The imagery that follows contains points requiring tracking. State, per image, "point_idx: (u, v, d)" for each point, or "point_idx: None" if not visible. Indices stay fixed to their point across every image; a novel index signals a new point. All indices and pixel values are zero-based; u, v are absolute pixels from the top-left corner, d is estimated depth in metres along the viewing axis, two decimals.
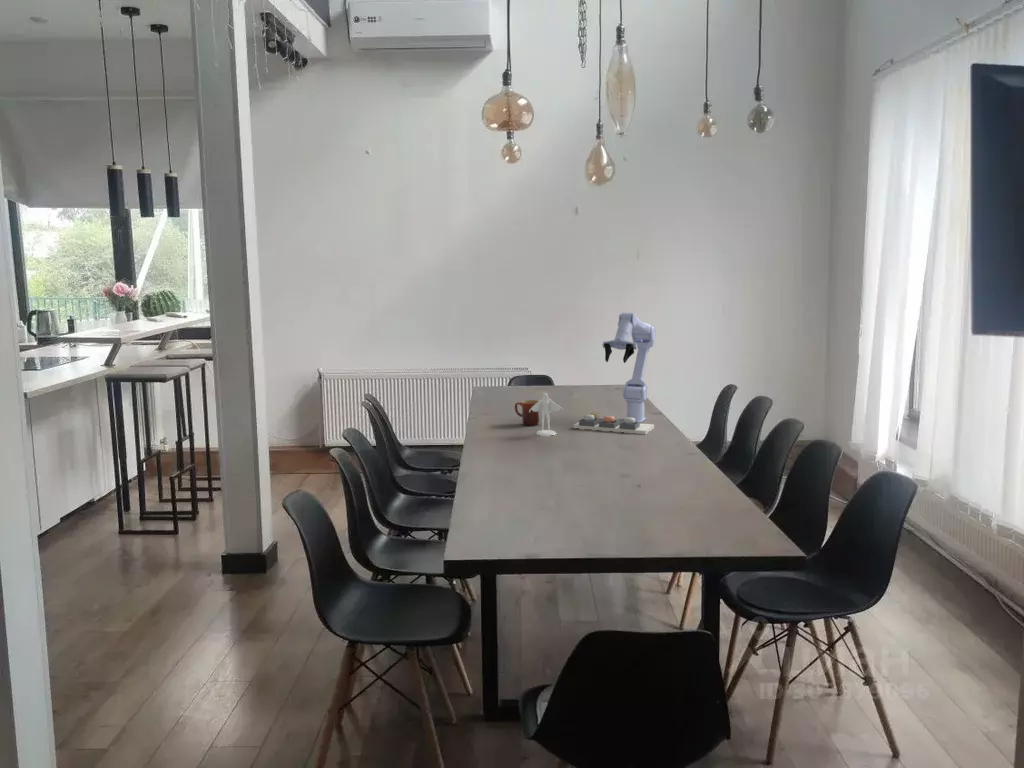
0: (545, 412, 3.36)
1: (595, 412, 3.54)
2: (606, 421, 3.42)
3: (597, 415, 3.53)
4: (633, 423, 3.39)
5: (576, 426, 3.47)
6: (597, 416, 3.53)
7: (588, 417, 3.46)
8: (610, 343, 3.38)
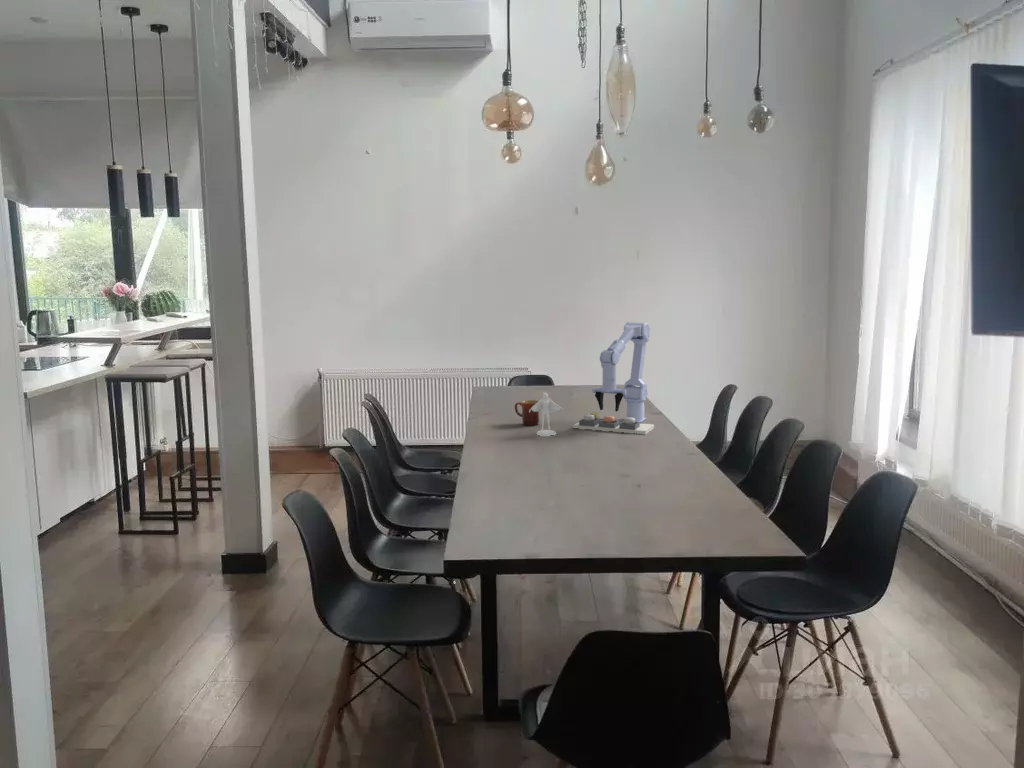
0: (545, 412, 3.36)
1: (595, 412, 3.54)
2: (606, 421, 3.42)
3: (597, 415, 3.53)
4: (633, 423, 3.39)
5: (576, 426, 3.47)
6: (597, 416, 3.53)
7: (588, 417, 3.46)
8: (599, 390, 3.43)
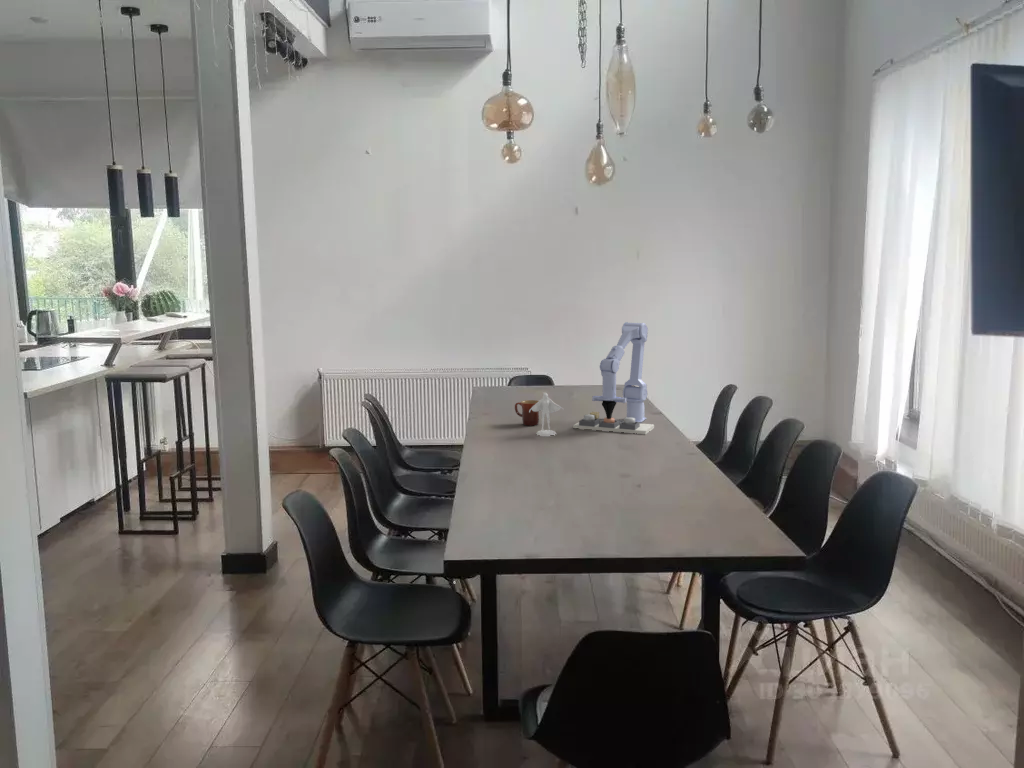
0: (545, 412, 3.36)
1: (595, 412, 3.54)
2: (606, 422, 3.43)
3: (597, 415, 3.53)
4: (633, 423, 3.39)
5: (576, 426, 3.47)
6: (597, 416, 3.53)
7: (588, 417, 3.46)
8: (599, 398, 3.44)
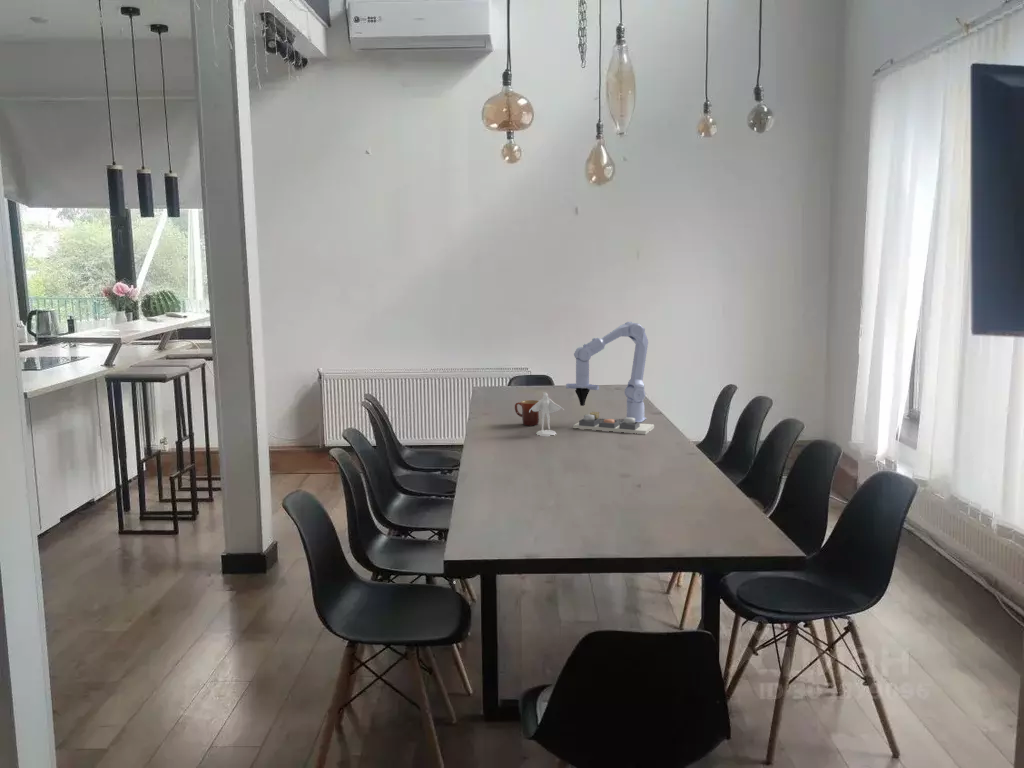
0: (545, 412, 3.36)
1: (595, 412, 3.54)
2: None
3: (597, 415, 3.53)
4: (633, 423, 3.39)
5: (576, 426, 3.47)
6: (597, 416, 3.53)
7: (588, 417, 3.46)
8: None
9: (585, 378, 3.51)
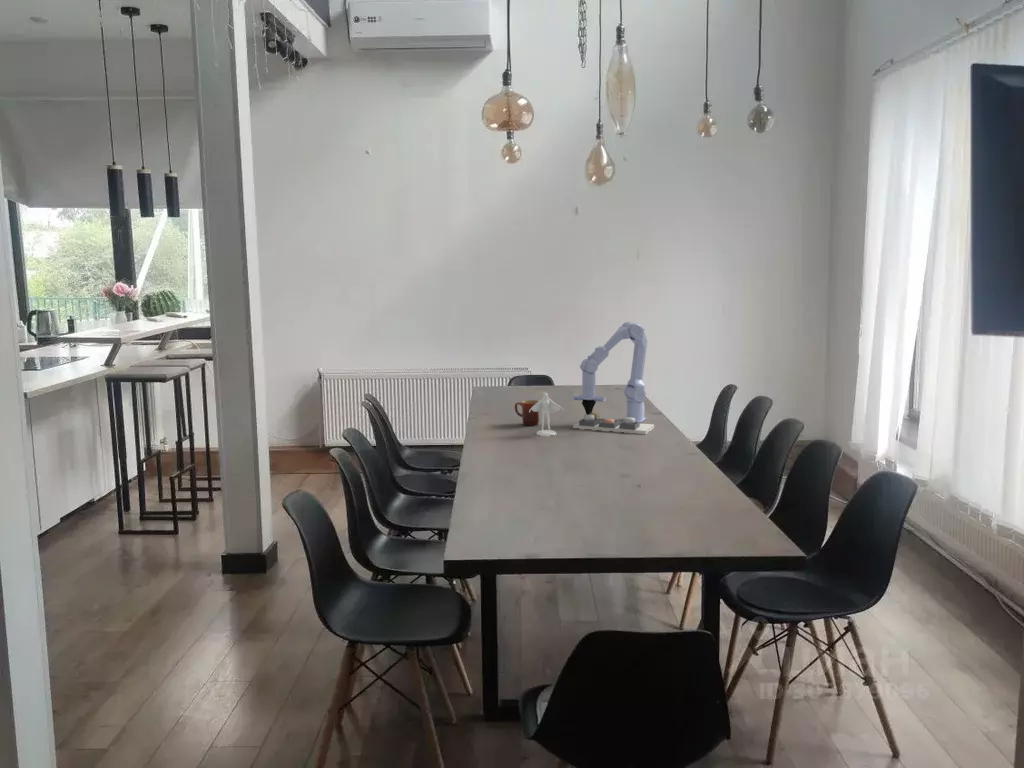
0: (545, 412, 3.36)
1: (595, 412, 3.54)
2: None
3: (597, 415, 3.53)
4: (633, 423, 3.39)
5: (576, 426, 3.47)
6: (597, 416, 3.53)
7: (588, 417, 3.46)
8: (579, 398, 3.55)
9: (591, 390, 3.51)
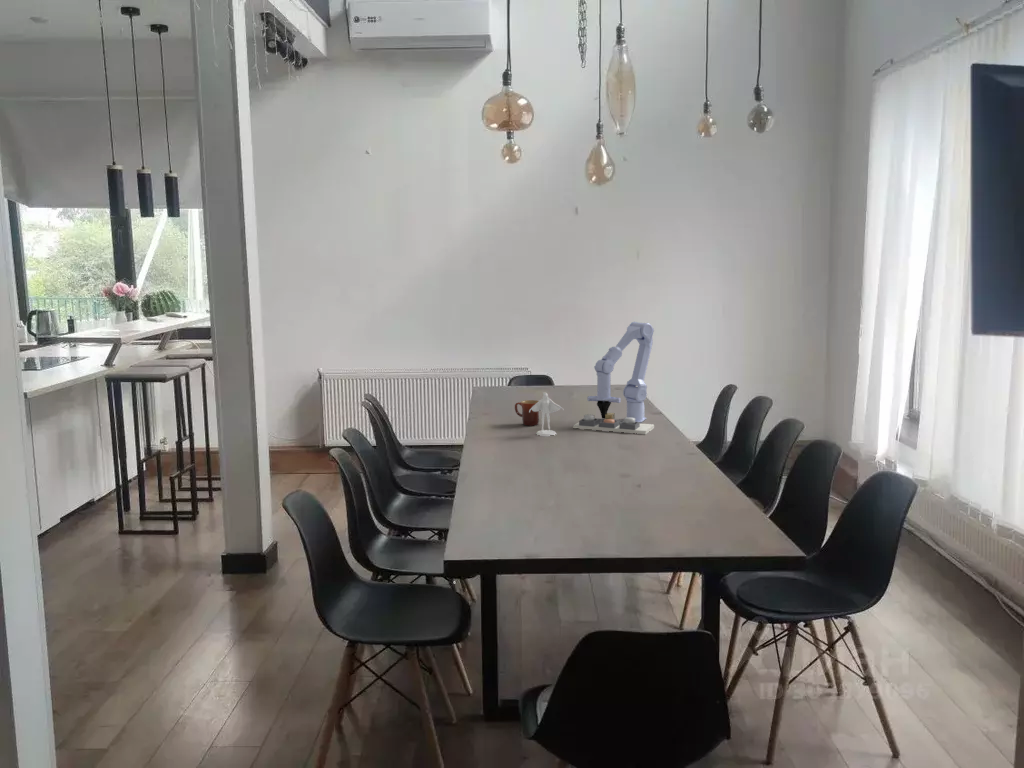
0: (545, 412, 3.36)
1: (610, 413, 3.51)
2: None
3: (612, 416, 3.50)
4: (633, 423, 3.39)
5: (576, 426, 3.47)
6: (612, 417, 3.50)
7: (588, 417, 3.46)
8: (594, 399, 3.52)
9: (607, 391, 3.48)
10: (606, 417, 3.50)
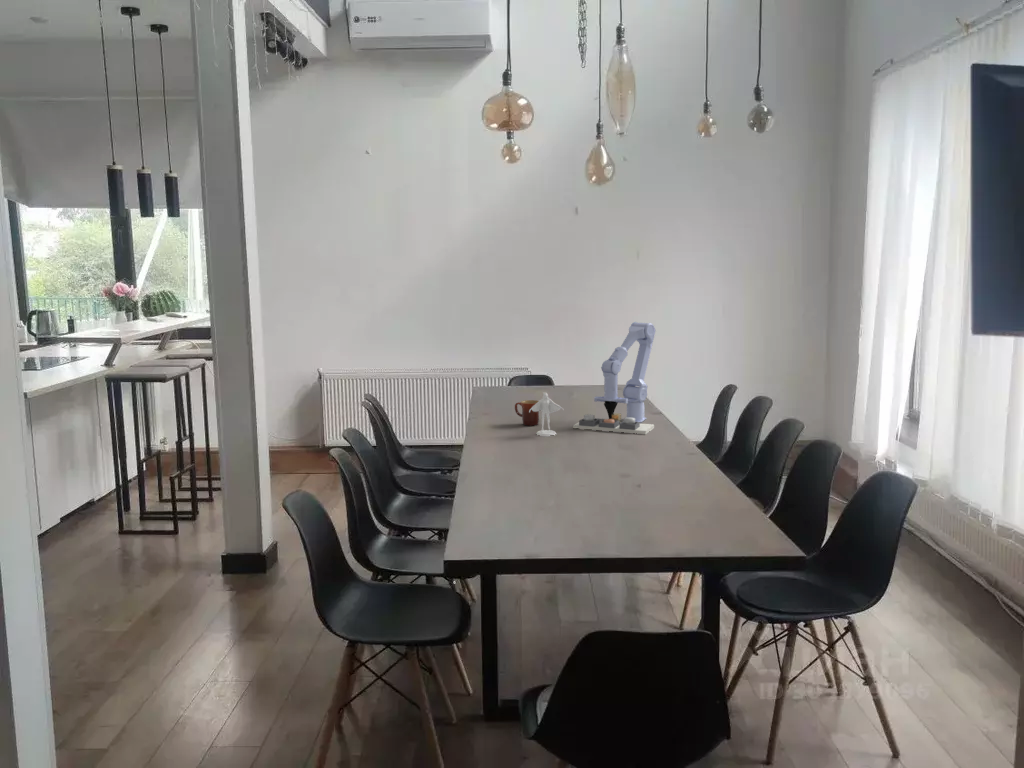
0: (545, 412, 3.36)
1: (617, 414, 3.50)
2: None
3: (619, 417, 3.49)
4: (633, 423, 3.39)
5: (576, 426, 3.47)
6: (619, 418, 3.49)
7: (588, 417, 3.46)
8: None
9: (614, 391, 3.47)
10: (613, 418, 3.49)
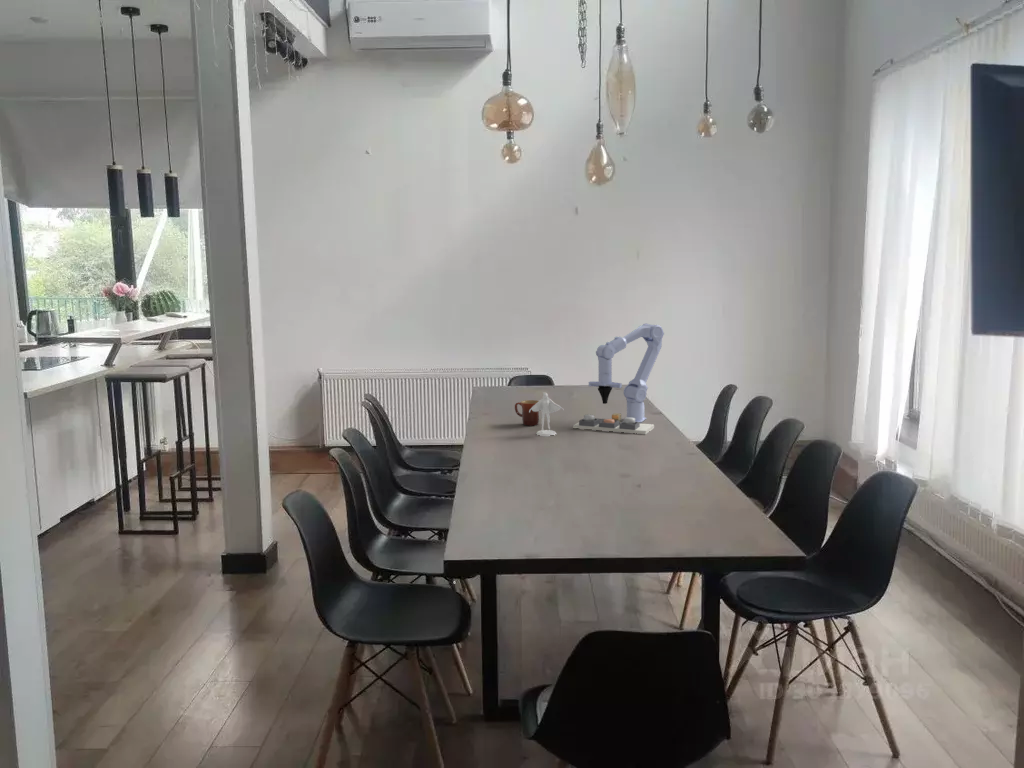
0: (545, 412, 3.36)
1: (617, 414, 3.50)
2: None
3: (619, 417, 3.49)
4: (633, 423, 3.39)
5: (576, 426, 3.47)
6: (619, 418, 3.49)
7: (588, 417, 3.46)
8: None
9: (608, 376, 3.49)
10: (613, 418, 3.49)
